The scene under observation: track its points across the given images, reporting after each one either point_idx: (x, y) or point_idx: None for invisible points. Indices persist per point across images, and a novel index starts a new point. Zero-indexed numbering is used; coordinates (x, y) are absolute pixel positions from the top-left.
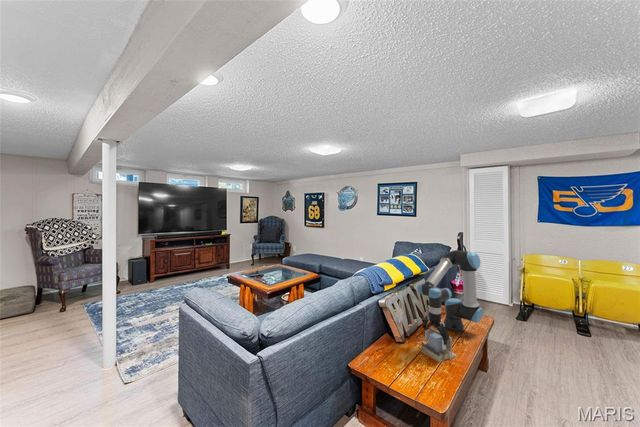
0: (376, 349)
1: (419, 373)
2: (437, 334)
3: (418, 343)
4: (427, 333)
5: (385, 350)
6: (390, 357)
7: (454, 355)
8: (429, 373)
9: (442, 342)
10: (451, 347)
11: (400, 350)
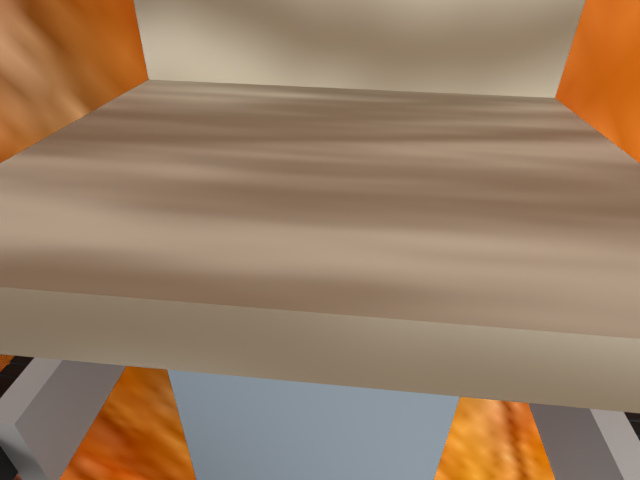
0: (71, 473)
1: (440, 474)
2: (294, 386)
3: (22, 148)
4: (85, 382)
5: (97, 448)
6: (194, 474)
7: (570, 2)
8: (491, 439)
9: (562, 467)
10: (637, 173)
11: (126, 384)
